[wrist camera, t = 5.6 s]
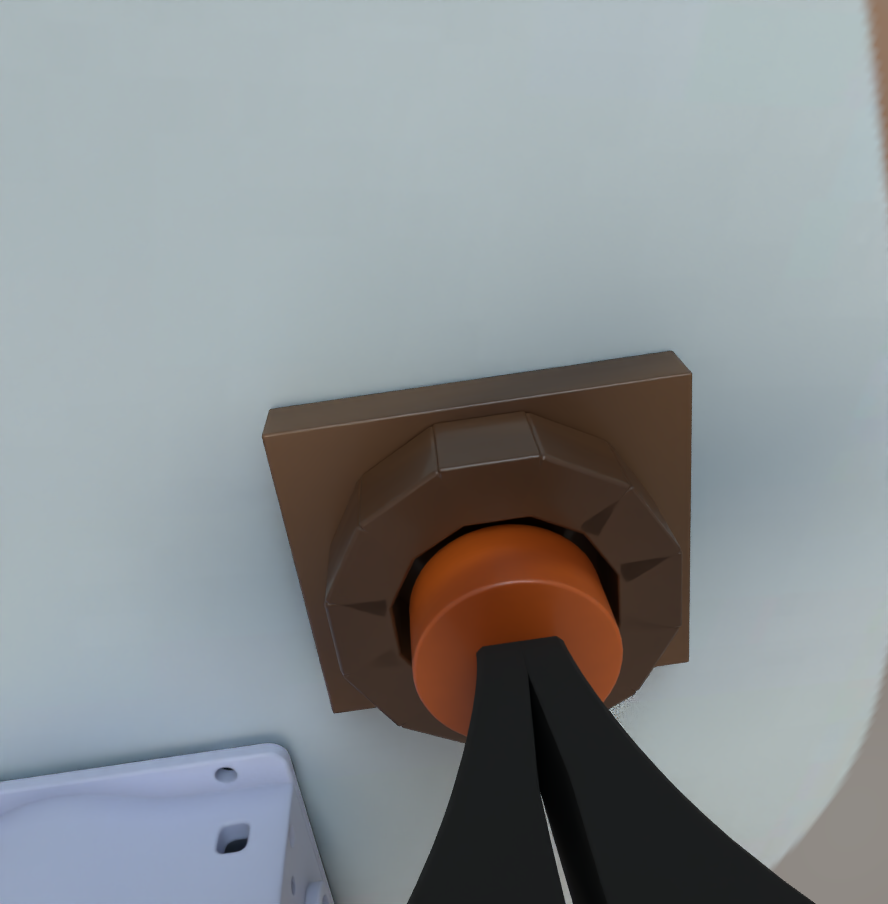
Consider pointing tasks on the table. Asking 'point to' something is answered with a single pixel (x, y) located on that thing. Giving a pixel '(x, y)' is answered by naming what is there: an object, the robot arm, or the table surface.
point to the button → (505, 612)
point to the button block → (486, 507)
